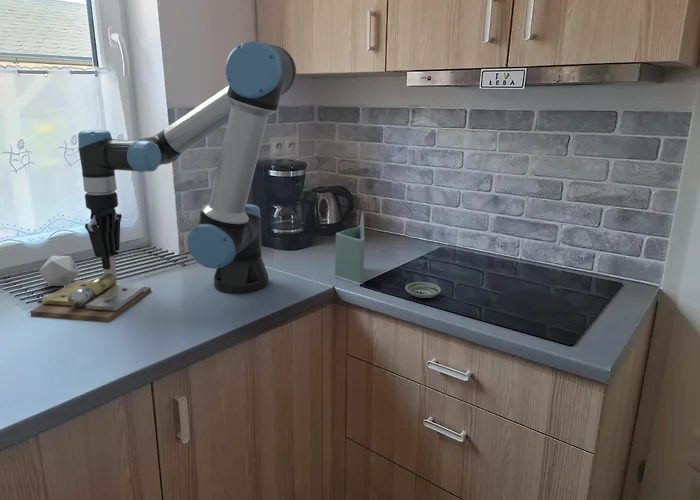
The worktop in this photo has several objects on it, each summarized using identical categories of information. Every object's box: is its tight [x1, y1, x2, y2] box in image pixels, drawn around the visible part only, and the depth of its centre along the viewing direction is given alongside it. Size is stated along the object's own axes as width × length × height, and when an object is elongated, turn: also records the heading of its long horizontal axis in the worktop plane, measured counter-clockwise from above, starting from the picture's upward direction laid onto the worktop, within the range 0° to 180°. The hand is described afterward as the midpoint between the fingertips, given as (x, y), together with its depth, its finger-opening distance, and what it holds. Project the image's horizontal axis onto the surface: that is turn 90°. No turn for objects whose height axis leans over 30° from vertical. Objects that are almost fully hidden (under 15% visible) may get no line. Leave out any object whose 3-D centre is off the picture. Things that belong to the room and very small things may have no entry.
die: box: [38, 255, 81, 287], centre depth 145 cm, size 8×9×10 cm
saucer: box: [404, 281, 442, 299], centre depth 144 cm, size 10×10×2 cm
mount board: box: [30, 284, 152, 323], centre depth 134 cm, size 20×20×1 cm
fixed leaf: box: [68, 284, 145, 311], centre depth 133 cm, size 12×14×4 cm
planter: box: [334, 212, 365, 285], centre depth 155 cm, size 16×8×20 cm, turn 2°
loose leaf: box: [41, 273, 117, 306], centre depth 135 cm, size 12×14×4 cm
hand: (110, 279), depth 141 cm, fingers closed
